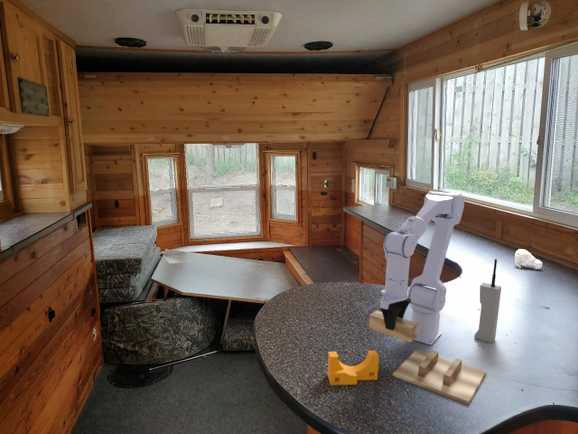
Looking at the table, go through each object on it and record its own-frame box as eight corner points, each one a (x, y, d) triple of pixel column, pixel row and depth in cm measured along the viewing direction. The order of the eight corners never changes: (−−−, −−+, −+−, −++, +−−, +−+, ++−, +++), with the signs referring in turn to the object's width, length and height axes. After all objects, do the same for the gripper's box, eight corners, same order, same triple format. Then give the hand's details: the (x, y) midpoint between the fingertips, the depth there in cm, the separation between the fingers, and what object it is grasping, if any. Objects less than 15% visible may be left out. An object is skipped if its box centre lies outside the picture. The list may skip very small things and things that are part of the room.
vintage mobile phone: (477, 334, 128) (486, 255, 124) (495, 339, 125) (504, 259, 121) (474, 338, 125) (482, 258, 121) (491, 343, 122) (501, 261, 118)
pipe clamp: (330, 385, 100) (331, 360, 99) (327, 375, 104) (328, 351, 103) (379, 384, 101) (381, 359, 100) (374, 374, 105) (375, 350, 104)
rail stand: (416, 351, 117) (417, 340, 116) (485, 374, 106) (487, 362, 105) (392, 376, 104) (393, 363, 103) (468, 404, 93) (469, 391, 93)
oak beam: (375, 323, 118) (376, 310, 117) (416, 336, 110) (417, 322, 110) (368, 328, 114) (369, 314, 114) (410, 342, 107) (411, 327, 106)
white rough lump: (517, 247, 203) (545, 253, 197) (513, 263, 205) (541, 270, 199) (515, 249, 198) (544, 256, 192) (511, 266, 200) (539, 273, 194)
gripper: (394, 268, 118) (391, 313, 120) (370, 281, 106) (367, 330, 109) (418, 273, 113) (414, 320, 116) (396, 287, 102) (392, 339, 104)
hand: (393, 326), depth 112 cm, fingers closed on oak beam, 4 cm apart
